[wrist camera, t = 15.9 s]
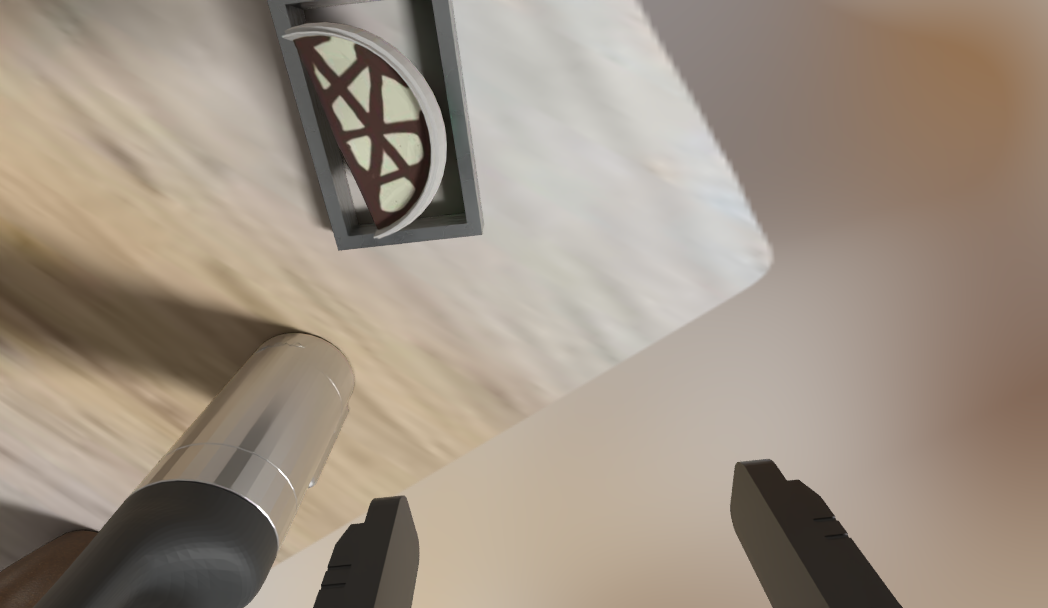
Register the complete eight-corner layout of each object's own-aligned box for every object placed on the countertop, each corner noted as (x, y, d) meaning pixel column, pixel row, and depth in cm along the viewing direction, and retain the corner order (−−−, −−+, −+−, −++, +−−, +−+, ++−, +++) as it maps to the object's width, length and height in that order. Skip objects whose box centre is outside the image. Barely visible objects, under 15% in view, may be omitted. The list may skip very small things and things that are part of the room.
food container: (480, 182, 38) (472, 217, 29) (406, 205, 39) (377, 246, 30) (421, 6, 33) (390, -17, 24) (337, 35, 34) (276, 24, 25)
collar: (483, 223, 40) (482, 234, 37) (349, 238, 40) (338, 250, 37) (448, -26, 32) (443, -35, 30) (283, -7, 32) (263, -13, 30)
